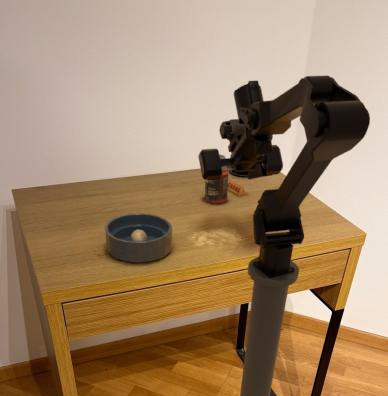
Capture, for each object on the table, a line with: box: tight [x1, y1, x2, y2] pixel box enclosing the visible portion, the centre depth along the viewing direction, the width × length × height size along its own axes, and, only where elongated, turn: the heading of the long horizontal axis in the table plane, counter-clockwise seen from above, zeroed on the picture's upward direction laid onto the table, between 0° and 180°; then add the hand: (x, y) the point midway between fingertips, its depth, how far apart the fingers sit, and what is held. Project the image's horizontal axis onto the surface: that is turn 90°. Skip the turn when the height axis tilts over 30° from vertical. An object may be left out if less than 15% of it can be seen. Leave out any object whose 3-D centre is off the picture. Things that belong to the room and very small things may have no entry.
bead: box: [131, 230, 147, 242], centre depth 107 cm, size 4×4×4 cm
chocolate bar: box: [228, 178, 247, 197], centre depth 137 cm, size 3×12×2 cm, turn 33°
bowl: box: [104, 212, 173, 263], centre depth 107 cm, size 14×14×5 cm
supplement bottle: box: [204, 153, 230, 204], centre depth 127 cm, size 6×6×11 cm
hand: (230, 178), depth 118 cm, fingers open, 9 cm apart
